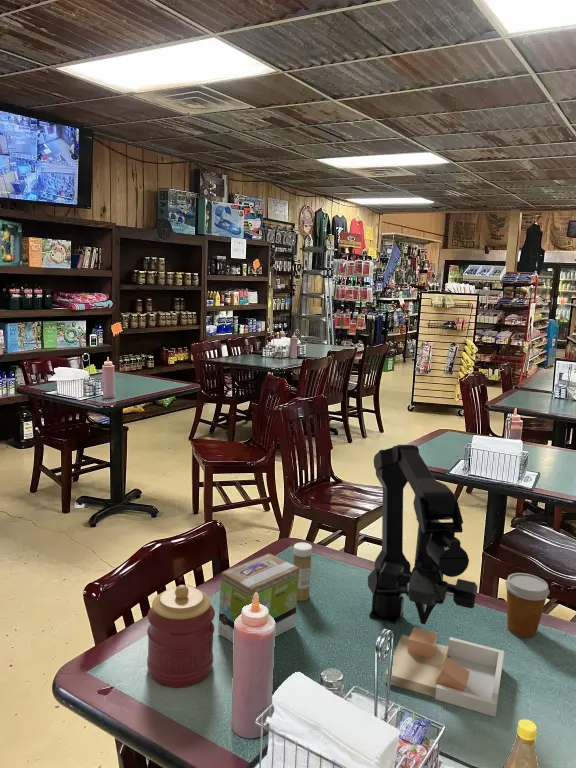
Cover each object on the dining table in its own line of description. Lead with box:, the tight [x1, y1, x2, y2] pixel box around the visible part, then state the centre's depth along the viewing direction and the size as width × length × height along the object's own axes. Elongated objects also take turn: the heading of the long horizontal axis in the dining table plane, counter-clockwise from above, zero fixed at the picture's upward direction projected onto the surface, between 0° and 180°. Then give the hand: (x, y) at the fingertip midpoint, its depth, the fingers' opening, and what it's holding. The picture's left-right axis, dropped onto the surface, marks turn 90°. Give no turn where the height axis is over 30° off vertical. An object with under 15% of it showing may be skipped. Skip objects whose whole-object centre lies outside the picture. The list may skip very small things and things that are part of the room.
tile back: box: [408, 626, 438, 659], centre depth 132 cm, size 5×5×3 cm
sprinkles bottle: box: [292, 542, 313, 602], centre depth 154 cm, size 5×5×13 cm
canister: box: [146, 584, 216, 688], centre depth 124 cm, size 13×13×18 cm
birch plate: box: [384, 634, 448, 698], centre depth 129 cm, size 10×15×2 cm, turn 157°
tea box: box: [217, 553, 299, 644], centre depth 139 cm, size 15×10×15 cm
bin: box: [434, 636, 505, 718], centre depth 125 cm, size 11×16×4 cm
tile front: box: [435, 657, 470, 691], centre depth 123 cm, size 5×5×3 cm
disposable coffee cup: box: [504, 572, 551, 639], centre depth 144 cm, size 10×10×12 cm
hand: (423, 623), depth 127 cm, fingers closed
